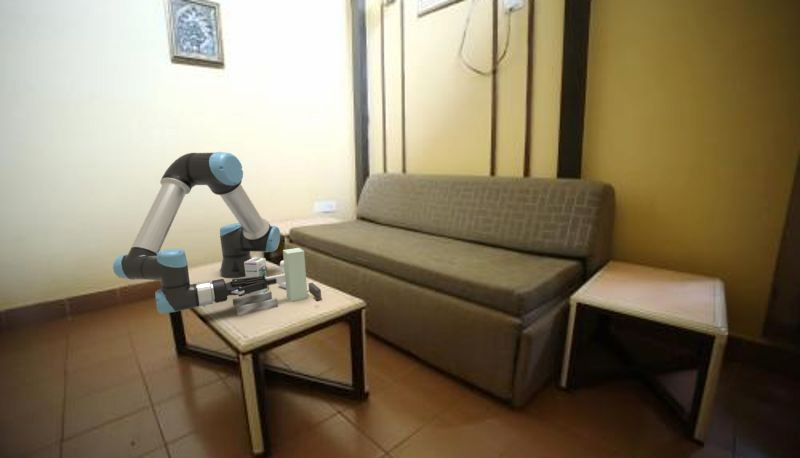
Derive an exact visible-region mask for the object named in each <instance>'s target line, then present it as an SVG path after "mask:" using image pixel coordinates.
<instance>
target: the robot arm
mask: <svg viewBox="0 0 800 458" xmlns="http://www.w3.org/2000/svg"><path fill="white" fill-rule="evenodd" d="M240 161H241V160H239V158H238V157H237V156H236V155H234V154H232V153H230V152H223V151H215V152H189V153H185V154H183V155H181V156H179V157H178V158H177V159H175V160H174V161H173V162H172V163H171V164H170V166H169V167H167V169H166V170H165V172H164V174H163V175H162V177H161V179H160V181H159V182H160V185H161V187H160V189H159V190H158V193H157V195H156V197H155V199H154V202H152V205H151V207H150V209H149V211H148V213H147V215H146V217H145V219H144V220H143V223H142V226H141V227H140V229H139V231H138V233H137V235H136V237H135V239H134V241H133V243H132V245H131V247H130V250H129V252H128V253H127V254H124V255H123V254H122V255H120V256H118V257H117V258H115V260H114V262H113V265H112V270H113V273H114V275H115V276H116V277H118V278H120V279H124V280H132V281H133V280H148V281H149V280H150V281H160V285H161V288H160V289H159V290H155V293H154V294H155V295H154V296H155V303H156V310H157V312H158V314H161V315H162V314H170V313H176V312H181V311H185V310H189V309H193V308H199V307H203V308H205V307H206V306H208V305H212V304H213V303H216V304H218V303H223V302H226V301H228V296H237V295H238V298H241V297H244V296H245V295H250V294H249V293H252V292H255V291H259V290H262V289H267V286H274V285H279V283H284V282H285V273H281V274H276V275H270V276H267V277H265V275H262V276H263V277H262V276H259V277H250V278H246V274H245V266H244V262H245V261H248V260H250V259H252V258H253V257H252V256H251V252H253V253H255V252H259V253H273V252H275V251H276V250H277V249H278V247H279V245H280V242H281V232H280V228H279V227H278V226H277V225H273V226H272V225H271V224H270V223H269V221H268V220H267V219H265V218H262V216H261V215H260V213H259V212H258V210H257V208H256V207H255V204H253V202H252V200H251V199H250V197H249V195H248V193H247V192H246V190H245V189H244V188H243V186H242V182H243V178H244V171H243V166H242V163H241V162H240ZM195 186H208V189H210V191H211V192H212V193H213V194H214V195H217V196H220V198H221V199H222V201H223V202H224V203H225V204H226V206H227V207H228V209H229V211H230V212H231V213H232V215H233V217H235V219H236V220H237V222H236V223H230V224H225V225H223V226H221V227H220V229H219V239H220V244H221V245H220V246H221V253H222V262H221V265H220V270H219V272H220V273H219V274H220V277H223V278H230V279H231V278H232V279H231V281H230V282H225V279H223V278H220V279H214V280H212V281H211V282H210V280H207V281H202V282H197V283H193V284H191V282H190V276H189V273H190V272H189V268H188V267H189V266H188V265H189V264H188V260H187V256H186V252H185V250H184V249H181V248H168V249H163V250H161V248H162V247H163V245H164V243H165V240H166V238H167V236H168V234H169V231H170V230H171V229H170V228H171V226H172V224H173V223H174V220H175V218H176V216H177V214H178V211H179V209H180V207H181V205H182V203H183V200H184V198H185V197H186V195H188V194H190V192H191V190H192V189H193V188H194V187H195ZM241 277H244V278H241Z"/></svg>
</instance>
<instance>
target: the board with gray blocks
mask: <svg viewBox="0 0 800 458" xmlns="http://www.w3.org/2000/svg"><path fill="white" fill-rule="evenodd" d="M307 295H309V296H310V297H311V298H312V299H313V300H315V301H316V302H319V301H322V300H323V299H322V289H320V287H318V286H317V285H316V284H314V283H313V282H309V283H308V289H307ZM272 296H273V295H272V291H270V290H269V291H267V292H265V293H260V294H255V295H251V294H249V295H247V296H241V297H237V298H232V307H233V308H236V314H237V317H238V316H243V315H248V314H252V313H256V312H260V311H266V310H269V309H274V308H278V299H277V298H276V297H274V298H273V297H272Z"/></svg>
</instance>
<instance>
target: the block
mask: <svg viewBox="0 0 800 458" xmlns="http://www.w3.org/2000/svg"><path fill="white" fill-rule="evenodd" d="M282 256H283V260H284V270H285V273H284V275H285V282H286V289H285V291H286V292H285V293H286V297H287V298H288V299H289V301H290V302H291V303H292V302H296V301H300V300H303V299H308V293H307V291H308V284H307V274H306V273H307V271H306V259H305V250H304V249H302V248H300V247H294V248H289V249H288V248H287V249H283V250H282Z"/></svg>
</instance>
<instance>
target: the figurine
mask: <svg viewBox="0 0 800 458" xmlns="http://www.w3.org/2000/svg"><path fill="white" fill-rule="evenodd" d="M279 269H280V270H279V271H280V273H281V274H285V270H284V259H283V260H281V261H280V262H279ZM278 285H279V287H280V288H283V289H285V290H286V282H284V283H279V284H278Z"/></svg>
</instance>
